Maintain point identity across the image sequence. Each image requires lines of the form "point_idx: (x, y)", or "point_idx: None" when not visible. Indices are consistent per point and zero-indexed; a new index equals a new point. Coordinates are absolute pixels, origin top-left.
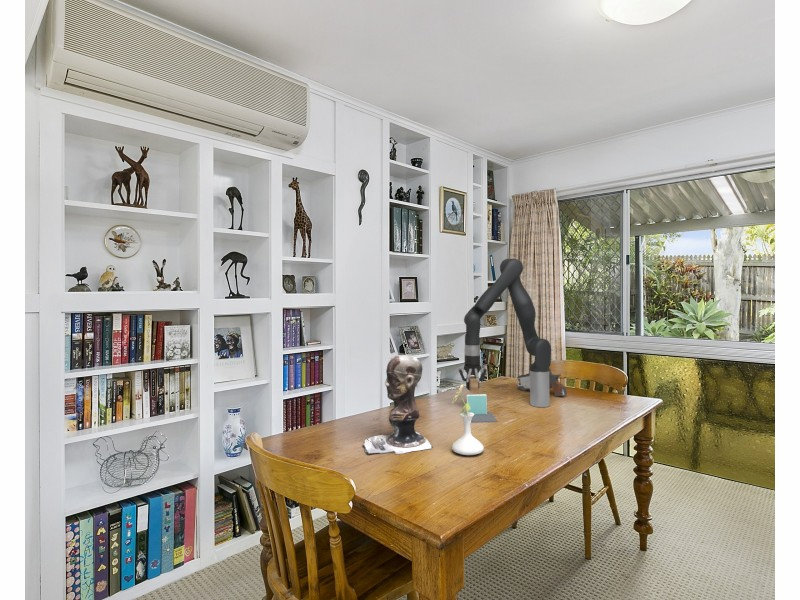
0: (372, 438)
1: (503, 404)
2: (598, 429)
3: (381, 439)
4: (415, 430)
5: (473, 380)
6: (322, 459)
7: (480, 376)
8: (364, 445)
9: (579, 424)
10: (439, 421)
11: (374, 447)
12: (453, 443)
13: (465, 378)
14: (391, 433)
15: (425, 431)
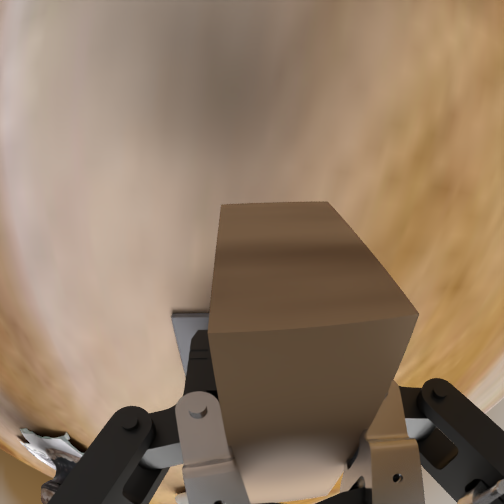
0: (28, 448)
1: (474, 127)
2: (498, 396)
3: (42, 453)
4: (74, 447)
5: (273, 500)
6: (18, 457)
7: (446, 424)
8: (33, 454)
9: (501, 378)
10: (97, 388)
11: (51, 464)
12: (177, 501)
13: (169, 448)
14: (35, 434)
15: (91, 436)
